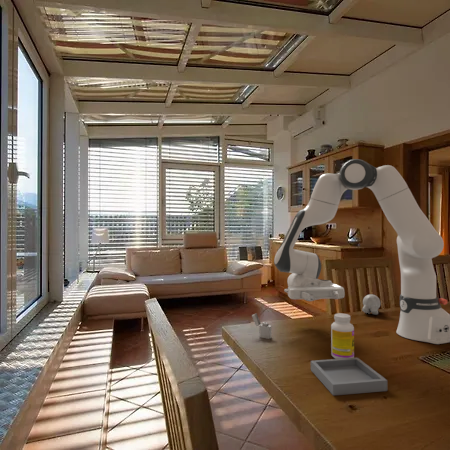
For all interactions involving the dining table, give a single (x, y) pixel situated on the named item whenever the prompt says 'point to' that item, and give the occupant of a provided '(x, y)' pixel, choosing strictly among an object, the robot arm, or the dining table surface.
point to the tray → (348, 376)
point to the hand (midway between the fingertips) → (324, 297)
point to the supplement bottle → (342, 337)
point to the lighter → (262, 327)
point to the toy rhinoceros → (371, 304)
